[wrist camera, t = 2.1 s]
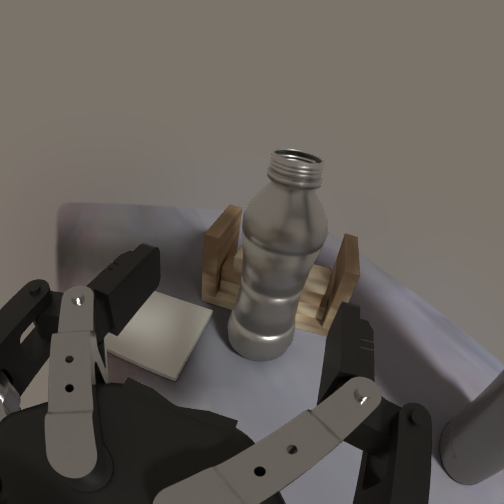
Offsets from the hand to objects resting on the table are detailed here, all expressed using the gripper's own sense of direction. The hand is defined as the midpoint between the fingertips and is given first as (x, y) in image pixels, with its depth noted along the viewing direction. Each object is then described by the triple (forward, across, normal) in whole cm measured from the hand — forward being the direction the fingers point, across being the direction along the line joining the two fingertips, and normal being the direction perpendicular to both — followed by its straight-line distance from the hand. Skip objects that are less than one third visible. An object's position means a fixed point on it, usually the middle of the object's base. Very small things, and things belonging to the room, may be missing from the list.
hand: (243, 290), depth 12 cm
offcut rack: (+20, 0, +17) cm, 26 cm away
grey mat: (+9, +10, +17) cm, 22 cm away
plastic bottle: (+12, 0, +17) cm, 20 cm away
